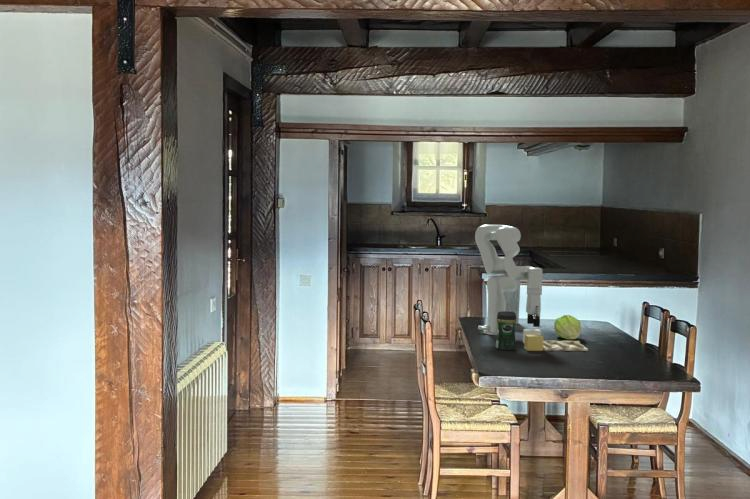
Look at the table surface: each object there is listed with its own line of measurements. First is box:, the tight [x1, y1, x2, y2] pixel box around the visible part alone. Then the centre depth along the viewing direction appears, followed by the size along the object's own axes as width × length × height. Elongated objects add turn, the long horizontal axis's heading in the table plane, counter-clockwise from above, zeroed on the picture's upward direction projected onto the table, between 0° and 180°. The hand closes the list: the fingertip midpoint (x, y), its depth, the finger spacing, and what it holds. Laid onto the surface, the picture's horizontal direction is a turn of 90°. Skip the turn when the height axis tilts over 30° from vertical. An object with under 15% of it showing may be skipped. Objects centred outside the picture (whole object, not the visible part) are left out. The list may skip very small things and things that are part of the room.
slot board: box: [543, 340, 589, 352], centre depth 381 cm, size 22×12×2 cm, turn 96°
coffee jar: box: [495, 311, 517, 351], centre depth 374 cm, size 10×8×19 cm
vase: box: [503, 281, 521, 325], centre depth 450 cm, size 10×10×27 cm
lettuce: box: [553, 314, 582, 341], centre depth 405 cm, size 13×22×14 cm
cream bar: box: [522, 328, 542, 345], centre depth 391 cm, size 8×4×7 cm, turn 96°
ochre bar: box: [523, 334, 545, 352], centre depth 375 cm, size 8×4×7 cm, turn 96°
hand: (533, 325), depth 390 cm, fingers open, 9 cm apart
